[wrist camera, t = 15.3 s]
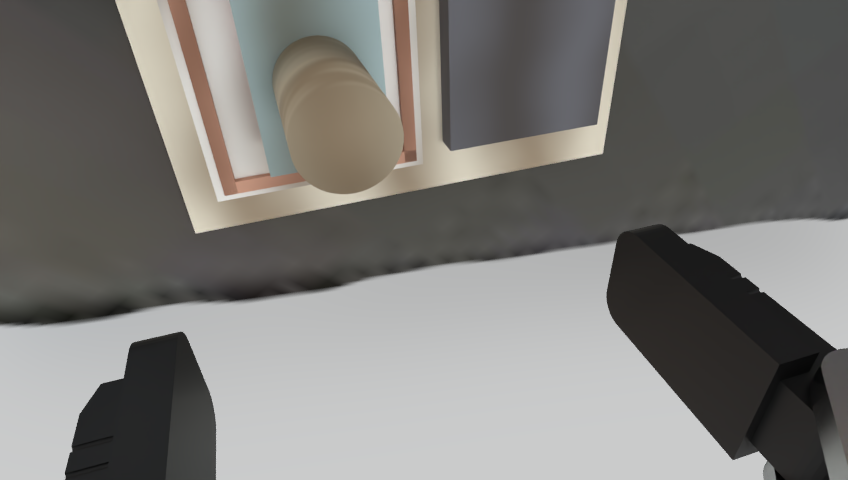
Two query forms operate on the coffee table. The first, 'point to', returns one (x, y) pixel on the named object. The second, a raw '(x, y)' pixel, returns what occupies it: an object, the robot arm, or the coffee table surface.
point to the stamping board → (405, 89)
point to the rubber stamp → (320, 90)
